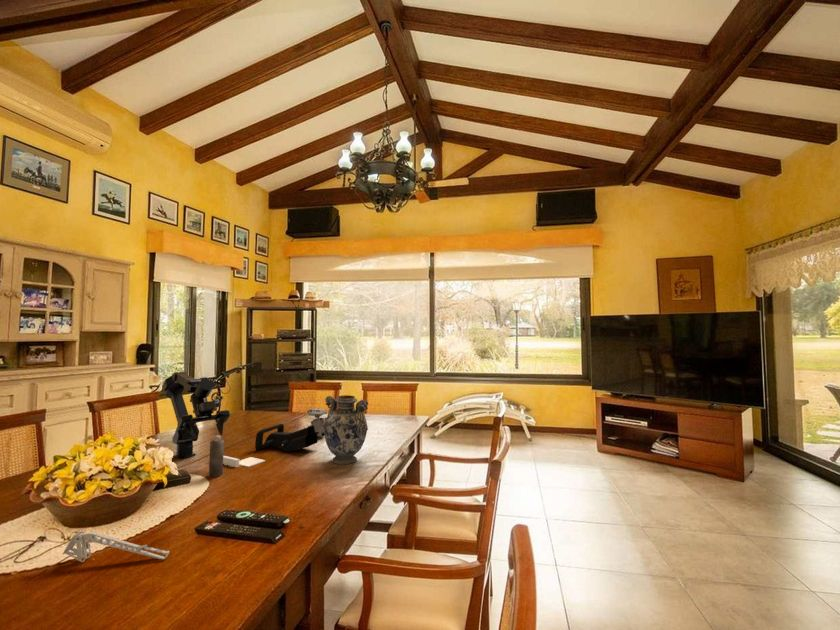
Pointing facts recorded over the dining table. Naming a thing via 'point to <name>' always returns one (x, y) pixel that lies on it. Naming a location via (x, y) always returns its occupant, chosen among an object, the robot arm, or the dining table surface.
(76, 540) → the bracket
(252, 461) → the coaster
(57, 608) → the dining table surface
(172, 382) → the robot arm
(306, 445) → the black looped hood device
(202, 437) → the dining table surface
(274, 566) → the dining table surface
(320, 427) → the figurine
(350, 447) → the decorative vase
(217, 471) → the pepper mill
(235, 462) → the low frosted rail
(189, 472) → the dining table surface
